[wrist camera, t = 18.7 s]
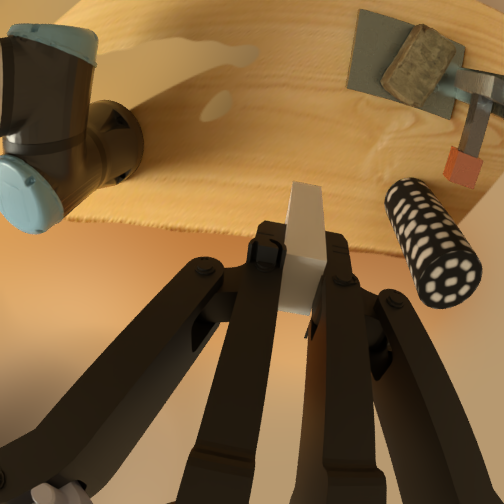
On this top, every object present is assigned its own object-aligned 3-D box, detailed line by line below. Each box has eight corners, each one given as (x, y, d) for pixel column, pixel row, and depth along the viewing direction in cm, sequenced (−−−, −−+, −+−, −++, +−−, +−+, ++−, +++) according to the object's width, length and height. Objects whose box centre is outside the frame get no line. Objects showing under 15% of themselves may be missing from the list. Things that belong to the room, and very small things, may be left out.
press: (345, 87, 38) (387, 116, 19) (358, 10, 31) (411, -35, 12) (466, 126, 37) (563, 192, 17) (481, 56, 30) (592, 80, 10)
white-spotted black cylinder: (428, 173, 43) (484, 242, 26) (433, 218, 47) (478, 299, 30) (380, 183, 45) (416, 260, 29) (388, 229, 49) (418, 315, 33)
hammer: (429, 161, 35) (457, 190, 27) (453, 67, 27) (490, 73, 20) (451, 168, 34) (482, 198, 27) (476, 78, 27) (515, 88, 19)
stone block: (445, 47, 30) (461, 47, 26) (409, 108, 37) (420, 115, 33) (412, 22, 29) (425, 19, 25) (375, 85, 36) (383, 89, 32)
